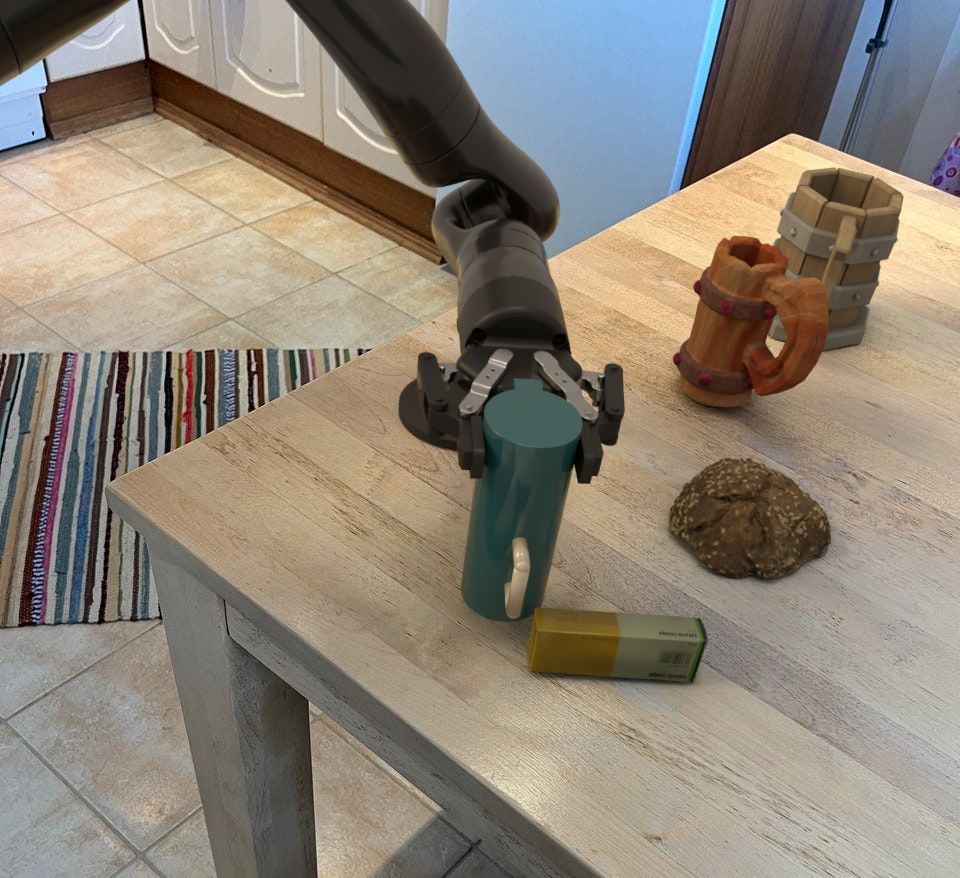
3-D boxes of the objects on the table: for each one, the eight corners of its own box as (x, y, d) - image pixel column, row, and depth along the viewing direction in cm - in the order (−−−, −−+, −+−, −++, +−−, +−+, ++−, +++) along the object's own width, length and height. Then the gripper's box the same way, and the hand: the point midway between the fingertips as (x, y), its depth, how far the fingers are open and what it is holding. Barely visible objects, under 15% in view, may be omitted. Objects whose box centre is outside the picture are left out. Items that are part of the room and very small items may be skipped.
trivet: (383, 435, 86) (383, 426, 85) (416, 370, 93) (416, 361, 92) (506, 462, 85) (507, 452, 84) (529, 393, 92) (530, 384, 91)
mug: (649, 374, 96) (687, 224, 85) (715, 360, 99) (760, 213, 88) (740, 461, 88) (795, 307, 77) (809, 442, 91) (871, 291, 80)
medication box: (688, 658, 71) (703, 615, 68) (696, 684, 69) (711, 641, 66) (525, 647, 70) (533, 603, 67) (527, 673, 68) (536, 629, 65)
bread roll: (729, 465, 87) (745, 418, 84) (845, 540, 82) (868, 493, 78) (635, 521, 81) (648, 472, 77) (754, 606, 75) (775, 559, 72)
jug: (458, 547, 73) (480, 372, 62) (538, 551, 73) (574, 379, 62) (463, 650, 66) (488, 473, 55) (550, 653, 67) (593, 480, 56)
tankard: (756, 279, 112) (800, 142, 101) (866, 307, 110) (923, 170, 99) (724, 363, 99) (770, 216, 88) (849, 397, 97) (912, 251, 86)
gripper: (412, 266, 66) (416, 411, 55) (619, 280, 68) (664, 424, 57) (407, 363, 72) (410, 513, 61) (599, 374, 74) (636, 522, 62)
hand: (533, 469), depth 59 cm, fingers closed on jug, 6 cm apart
